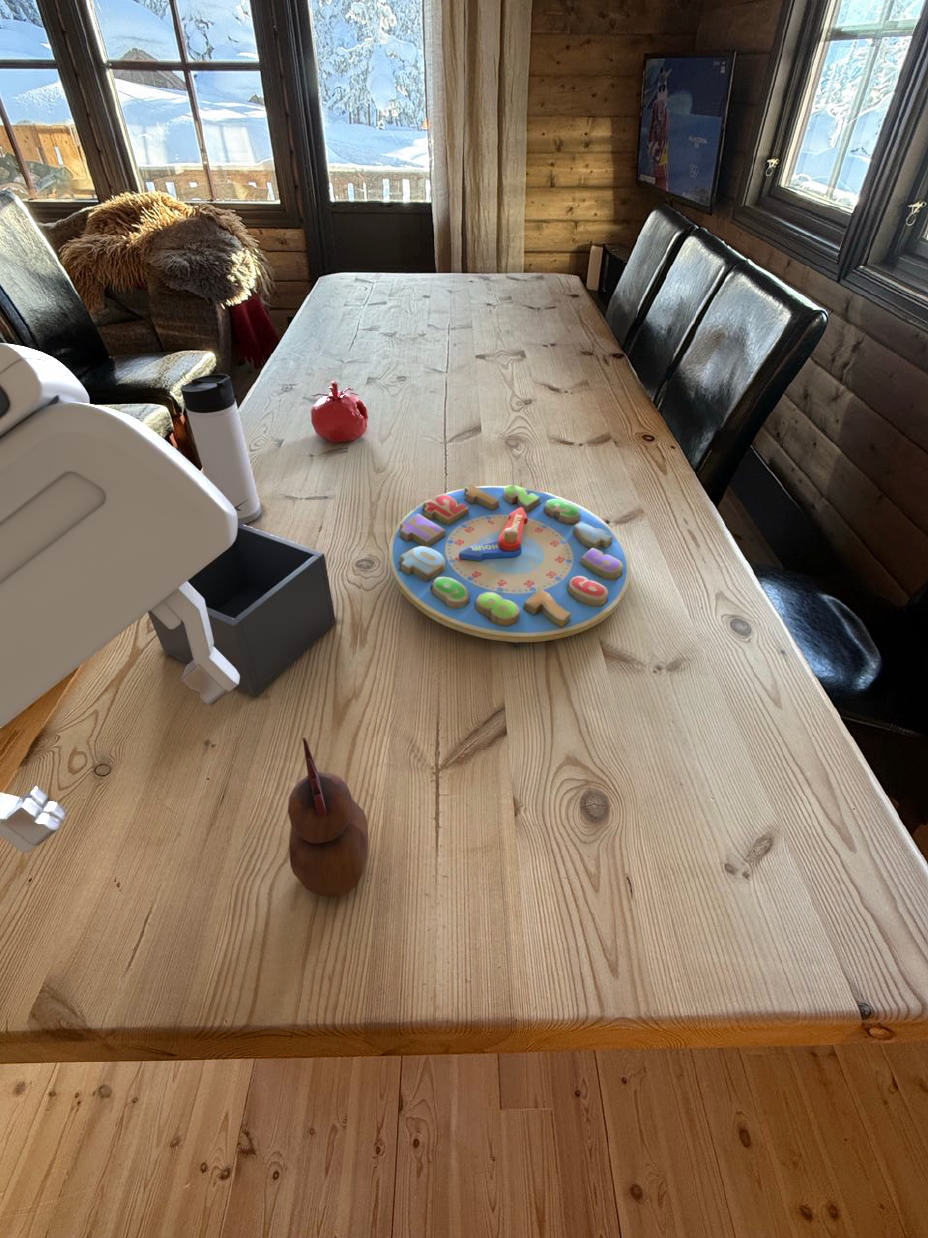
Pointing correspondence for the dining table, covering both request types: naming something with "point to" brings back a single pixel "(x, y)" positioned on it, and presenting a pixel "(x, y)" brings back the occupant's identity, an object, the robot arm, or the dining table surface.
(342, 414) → the pomegranate
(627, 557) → the shape sorting clock
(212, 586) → the tote
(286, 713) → the dining table surface
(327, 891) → the wooden figurine
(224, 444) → the travel mug
